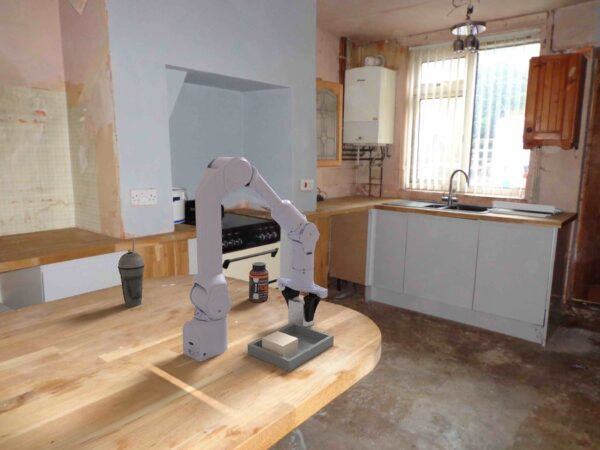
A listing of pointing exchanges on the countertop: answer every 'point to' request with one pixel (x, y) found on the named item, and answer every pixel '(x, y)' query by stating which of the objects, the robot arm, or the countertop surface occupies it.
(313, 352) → the tote
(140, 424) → the countertop surface
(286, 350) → the cream bevelled block
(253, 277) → the supplement bottle
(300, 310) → the tin
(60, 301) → the countertop surface
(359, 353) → the countertop surface
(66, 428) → the countertop surface
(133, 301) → the beverage cup
